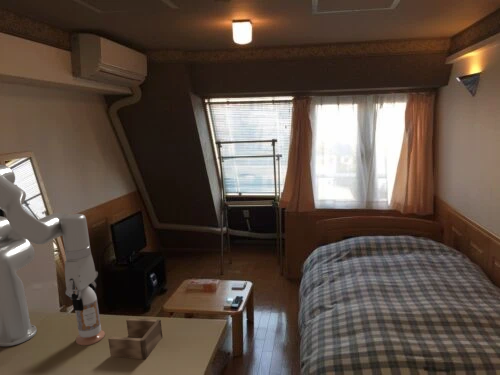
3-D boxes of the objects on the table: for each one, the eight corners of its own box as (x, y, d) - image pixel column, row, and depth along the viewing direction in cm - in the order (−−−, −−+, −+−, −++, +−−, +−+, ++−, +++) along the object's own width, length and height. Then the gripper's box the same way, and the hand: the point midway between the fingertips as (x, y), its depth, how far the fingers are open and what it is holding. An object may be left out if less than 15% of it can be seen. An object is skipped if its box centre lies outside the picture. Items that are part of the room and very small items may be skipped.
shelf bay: (110, 356, 127) (108, 338, 126) (130, 334, 139) (127, 318, 138) (145, 359, 124) (143, 340, 123) (162, 336, 136) (160, 319, 135)
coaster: (70, 344, 135) (70, 343, 135) (86, 330, 144) (86, 328, 143) (95, 346, 133) (95, 344, 133) (110, 331, 142) (109, 329, 142)
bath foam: (81, 340, 133) (72, 282, 129) (77, 331, 139) (68, 275, 135) (103, 333, 137) (95, 276, 133) (98, 325, 143) (90, 270, 139)
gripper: (83, 243, 142) (90, 292, 145) (49, 262, 125) (58, 317, 128) (103, 244, 140) (110, 293, 144) (72, 263, 124) (80, 318, 127)
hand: (85, 304), depth 136 cm, fingers closed on bath foam, 7 cm apart
